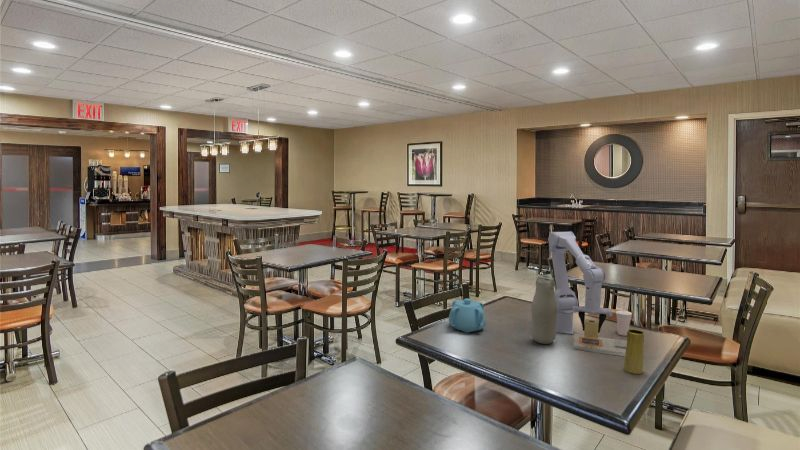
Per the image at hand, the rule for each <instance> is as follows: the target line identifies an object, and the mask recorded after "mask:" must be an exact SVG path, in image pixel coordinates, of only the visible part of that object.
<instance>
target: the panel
mask: <svg viewBox="0 0 800 450" xmlns="http://www.w3.org/2000/svg"><path fill="white" fill-rule="evenodd" d="M584 342H586V343H584ZM626 345H627V340H625V339H624V340H623V339H616V338H608V337H601V336H598V339H596V338H588V337H584V334H578V333H574V336H573V348H572V350H579V351H584V352H592V353H596V354H597V353H598V354H605V355H611V356H618V357H624V358H625V355H626Z"/></svg>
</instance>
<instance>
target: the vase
mask: <svg viewBox="0 0 800 450" xmlns="http://www.w3.org/2000/svg"><path fill="white" fill-rule="evenodd" d="M626 341H627V345H626V347H625V349H626V355H625V357H624V364H623V370H624V371H625V372H627V373H629V374H633V375H642V374H644V343H645V332H644V331H643V330H640V329H636V328H635V329H634V328H629V330H628V331H627V335H626Z"/></svg>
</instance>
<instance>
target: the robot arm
mask: <svg viewBox="0 0 800 450" xmlns="http://www.w3.org/2000/svg"><path fill="white" fill-rule="evenodd" d="M547 240H548V246H549V247H548V248H549V251H550V254H551V255H550V256H551V260H552V267H553V273H554V282H555V285H556V290H554V291H555V297H556V300H557V306H558V307H557V327H556V333H560V334H567V335H573V334H574V327H573V323H574V322H573V320H574V313H578V318H579V320H580V323H581V327H582V331H585V319H586V314H593V315H598V323H599V326H598V334H600V332H601V329H602V326H603V324H604V322H605V321H606V320H607V316H608V317H613V310H610V309H605V308H601V303H602V301H601V299H602V286H603V285H602V284H603V283H604V281H605V280H606V272H605V270H604V269H603V268H602V267H598V266H596V264H595V263H594V261H593V260H592V259H591V257H590V256H589V255H587V254H585V253H584V252H583V251H582V250H581V248H580V247H579V244H578V243H577V236H575V234H574V232H573V231H571V230H570V231H551V232H550V233H549V236H548V238H547ZM566 251H569V253H570V254H571V255H572V256H573V257H574V258H575V264H576V265H577V267H578V269H579V270H580V271H581V273H582V278H583V281H584V286H585V293H584V297H585V298H584V306H579V301H578V298H577V296H576V292H575V291H573V290H572V289H571V288H570V283H569V278H568V272H567V265H566V264H567V263H566V258H565V253H566Z"/></svg>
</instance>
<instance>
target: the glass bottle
mask: <svg viewBox="0 0 800 450" xmlns="http://www.w3.org/2000/svg"><path fill="white" fill-rule="evenodd" d="M555 285H556V282H555V278H553V277H552V276H550V275H544V274H543V275H538V276H537V277H536V280H535V292H534V295H533V298H532V302H531V323H530V324H531V325H530V326H531V327H530V329H531V332H530V333H531V337H532V339H533V341H535V342H536V343H539V344H542V345H549V344H551V343H553V342H554V341H555V340H556V336H557V332H556V327H557V307H558V306H557V300H556V297H555V291H556V290H555Z"/></svg>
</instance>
